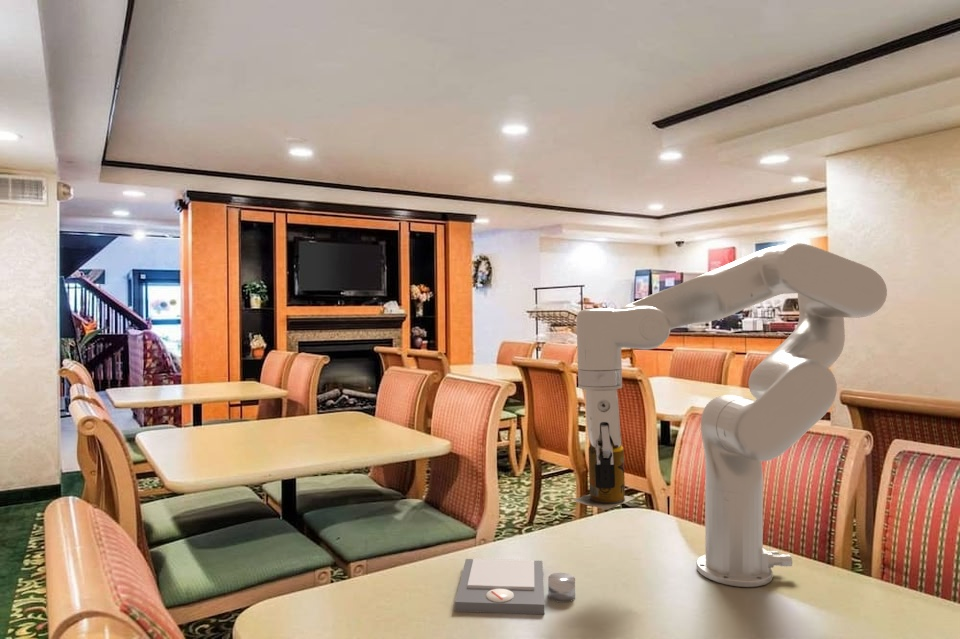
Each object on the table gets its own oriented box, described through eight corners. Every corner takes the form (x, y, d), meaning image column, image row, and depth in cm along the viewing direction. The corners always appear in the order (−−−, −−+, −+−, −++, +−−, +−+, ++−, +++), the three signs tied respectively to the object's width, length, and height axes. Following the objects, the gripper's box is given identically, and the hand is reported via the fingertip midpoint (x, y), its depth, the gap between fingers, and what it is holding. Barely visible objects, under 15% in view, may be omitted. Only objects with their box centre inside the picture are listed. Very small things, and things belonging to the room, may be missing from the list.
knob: (574, 590, 106) (574, 573, 106) (576, 603, 102) (576, 584, 102) (548, 590, 107) (547, 572, 107) (548, 602, 102) (548, 583, 102)
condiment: (635, 498, 110) (633, 430, 110) (607, 510, 104) (605, 438, 104) (600, 490, 115) (598, 425, 115) (572, 502, 110) (569, 433, 109)
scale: (542, 568, 115) (542, 558, 115) (544, 614, 98) (544, 601, 98) (465, 566, 116) (465, 556, 116) (454, 611, 99) (454, 598, 99)
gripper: (629, 385, 101) (632, 496, 101) (615, 373, 118) (617, 468, 119) (582, 386, 102) (585, 497, 102) (574, 374, 119) (577, 469, 119)
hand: (602, 480), depth 110 cm, fingers closed on condiment, 6 cm apart
